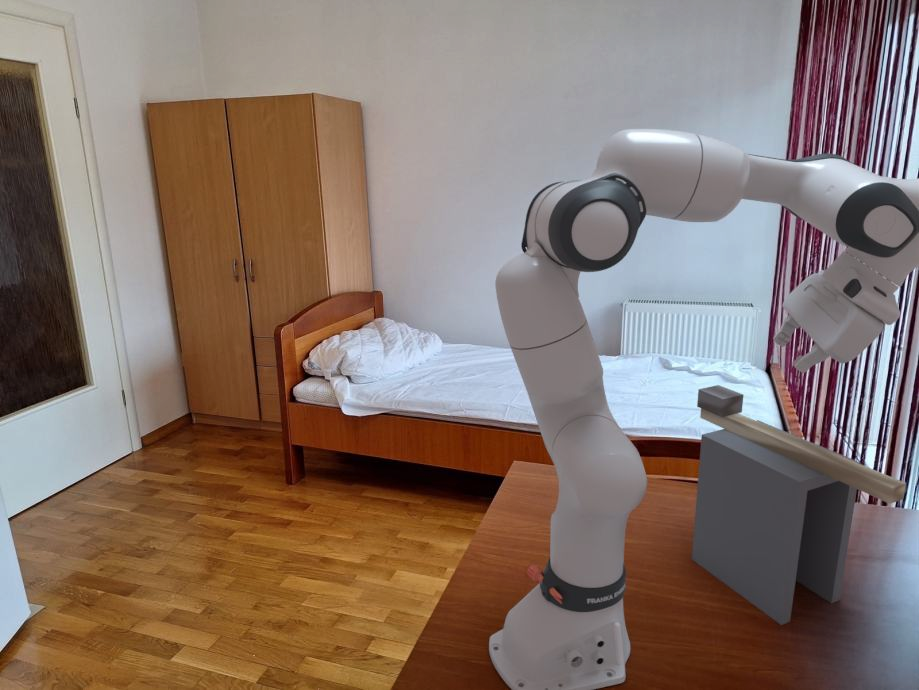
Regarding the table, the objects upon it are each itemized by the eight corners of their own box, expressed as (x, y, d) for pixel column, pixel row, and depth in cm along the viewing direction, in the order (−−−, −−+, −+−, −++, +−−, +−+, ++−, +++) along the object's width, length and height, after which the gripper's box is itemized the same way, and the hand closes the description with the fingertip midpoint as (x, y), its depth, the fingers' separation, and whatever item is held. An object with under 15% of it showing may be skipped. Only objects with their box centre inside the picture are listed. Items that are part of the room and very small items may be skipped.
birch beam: (885, 505, 88) (891, 466, 86) (696, 418, 120) (698, 389, 118) (907, 497, 90) (914, 459, 88) (715, 414, 122) (718, 385, 120)
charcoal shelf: (781, 625, 102) (799, 482, 95) (691, 559, 120) (701, 434, 113) (839, 600, 108) (861, 462, 101) (745, 540, 125) (758, 420, 118)
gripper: (812, 254, 100) (752, 320, 106) (869, 296, 82) (792, 373, 88) (843, 274, 101) (781, 339, 107) (907, 321, 82) (828, 396, 88)
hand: (787, 355), depth 97 cm, fingers open, 8 cm apart
